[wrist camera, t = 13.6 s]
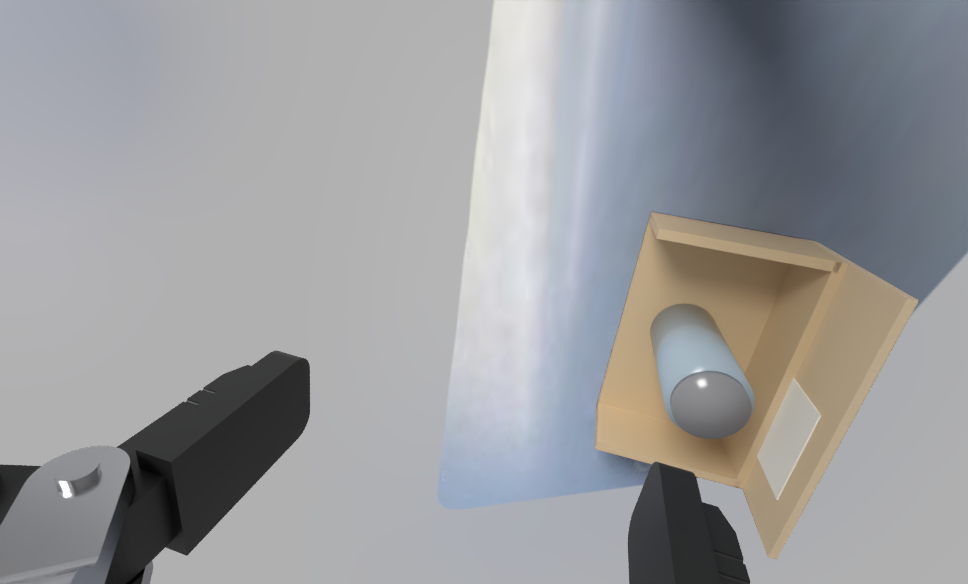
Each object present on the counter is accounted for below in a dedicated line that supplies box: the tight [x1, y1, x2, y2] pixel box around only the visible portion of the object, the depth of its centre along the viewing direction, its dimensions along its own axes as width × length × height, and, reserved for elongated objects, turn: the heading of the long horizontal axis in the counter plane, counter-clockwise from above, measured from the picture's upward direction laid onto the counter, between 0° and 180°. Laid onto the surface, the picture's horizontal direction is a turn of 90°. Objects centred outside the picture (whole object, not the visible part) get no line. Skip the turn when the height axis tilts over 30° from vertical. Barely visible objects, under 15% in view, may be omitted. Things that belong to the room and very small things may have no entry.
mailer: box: [595, 212, 919, 559], centre depth 38 cm, size 22×14×14 cm, turn 172°
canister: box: [650, 304, 755, 439], centre depth 38 cm, size 6×6×13 cm
